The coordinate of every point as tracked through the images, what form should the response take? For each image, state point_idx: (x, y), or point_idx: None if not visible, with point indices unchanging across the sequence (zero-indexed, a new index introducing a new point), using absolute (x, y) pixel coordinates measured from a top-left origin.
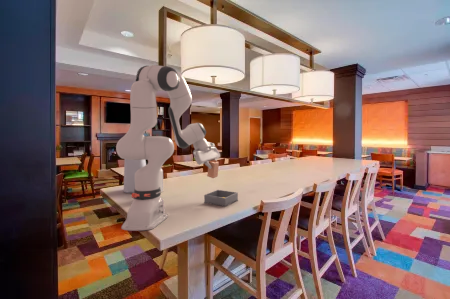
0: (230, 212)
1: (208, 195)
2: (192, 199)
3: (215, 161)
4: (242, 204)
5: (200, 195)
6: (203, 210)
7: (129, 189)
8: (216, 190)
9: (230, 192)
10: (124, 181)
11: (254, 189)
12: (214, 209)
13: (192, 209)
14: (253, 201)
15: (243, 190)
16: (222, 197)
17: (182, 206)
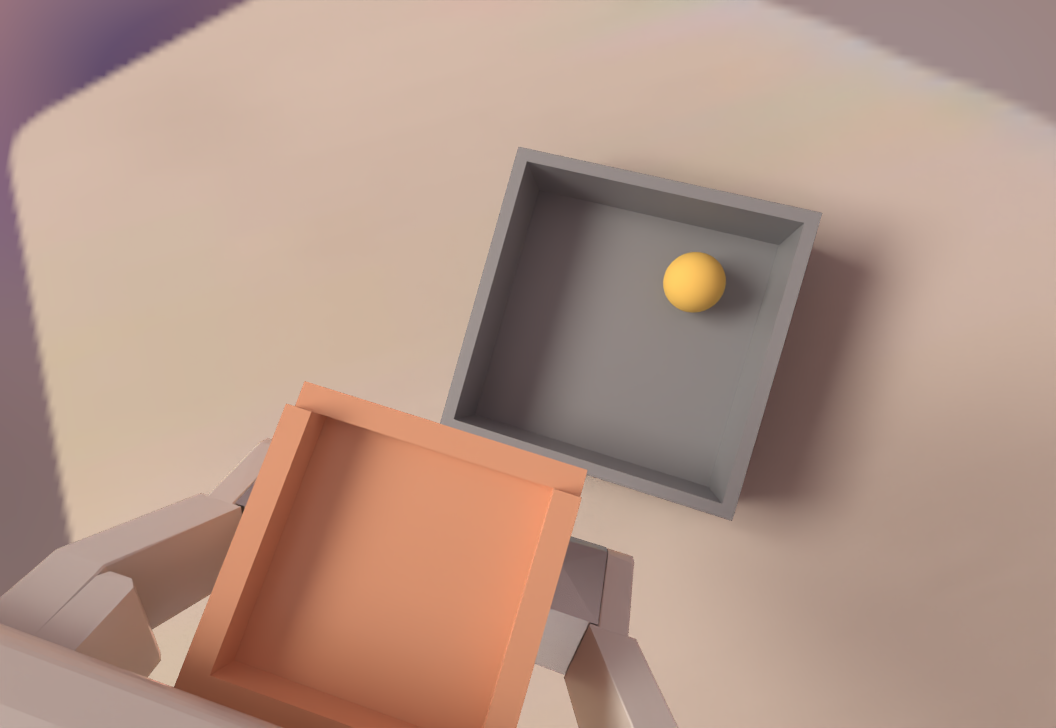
0: (964, 134)
1: (743, 459)
2: None
3: (275, 538)
4: (669, 93)
5: None
6: (980, 423)
7: None
8: (479, 432)
9: (506, 243)
10: None
11: (107, 116)
12: (913, 320)
13: (981, 551)
14: (540, 15)
15: (165, 219)
16: (697, 289)
17: (908, 698)
